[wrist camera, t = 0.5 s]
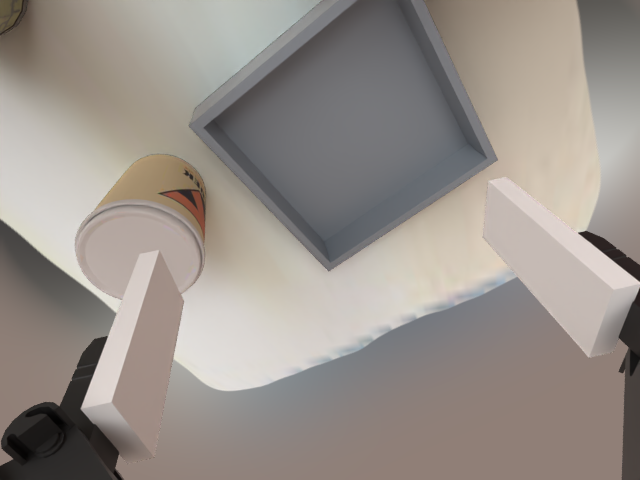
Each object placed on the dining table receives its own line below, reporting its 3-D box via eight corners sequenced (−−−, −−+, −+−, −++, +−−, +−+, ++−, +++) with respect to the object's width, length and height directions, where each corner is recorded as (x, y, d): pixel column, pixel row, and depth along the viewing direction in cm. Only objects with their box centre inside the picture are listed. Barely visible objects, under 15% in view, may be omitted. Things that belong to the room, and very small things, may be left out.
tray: (195, 108, 36) (188, 126, 32) (380, -49, 32) (399, -51, 28) (321, 244, 47) (328, 271, 43) (473, 141, 43) (497, 159, 38)
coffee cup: (223, 221, 43) (216, 295, 33) (135, 235, 43) (102, 315, 33) (200, 138, 38) (184, 197, 28) (99, 153, 37) (46, 219, 28)
